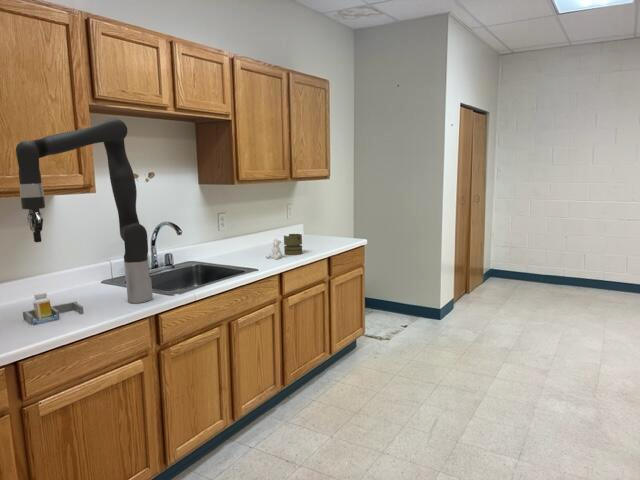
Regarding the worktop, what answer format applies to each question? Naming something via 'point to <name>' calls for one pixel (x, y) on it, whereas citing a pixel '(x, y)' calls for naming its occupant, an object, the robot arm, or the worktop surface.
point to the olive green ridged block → (293, 244)
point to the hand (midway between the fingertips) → (37, 241)
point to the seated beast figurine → (275, 251)
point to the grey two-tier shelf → (54, 311)
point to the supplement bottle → (42, 307)
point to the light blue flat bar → (45, 320)
